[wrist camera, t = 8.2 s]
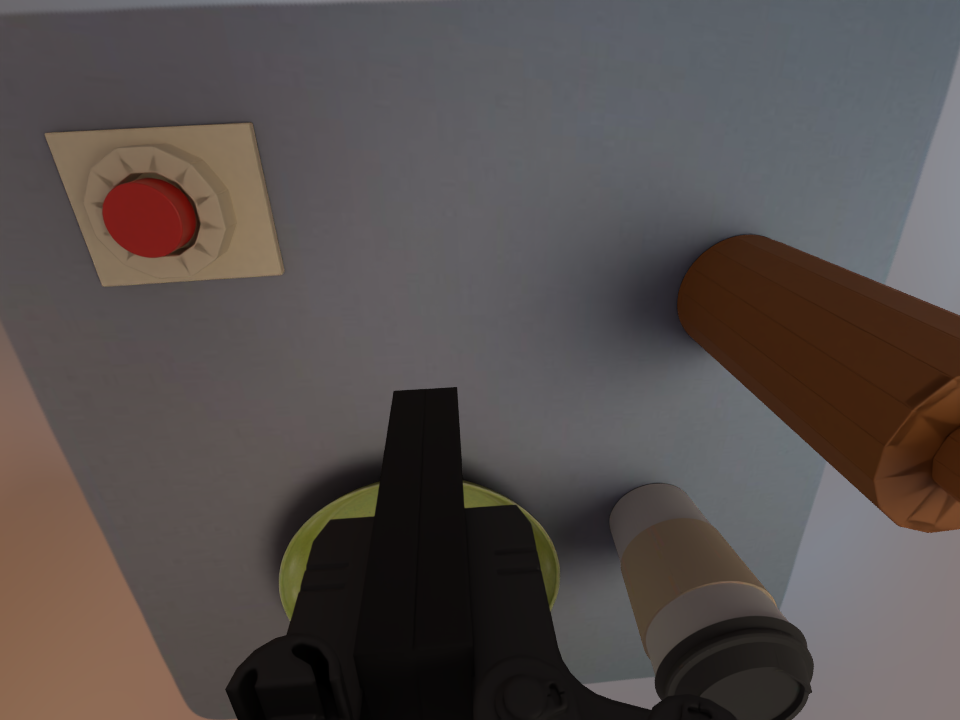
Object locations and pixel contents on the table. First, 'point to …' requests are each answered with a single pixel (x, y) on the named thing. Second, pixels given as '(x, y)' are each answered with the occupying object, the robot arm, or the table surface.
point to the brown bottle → (839, 368)
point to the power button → (149, 217)
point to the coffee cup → (706, 610)
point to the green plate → (365, 505)
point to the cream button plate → (198, 175)
